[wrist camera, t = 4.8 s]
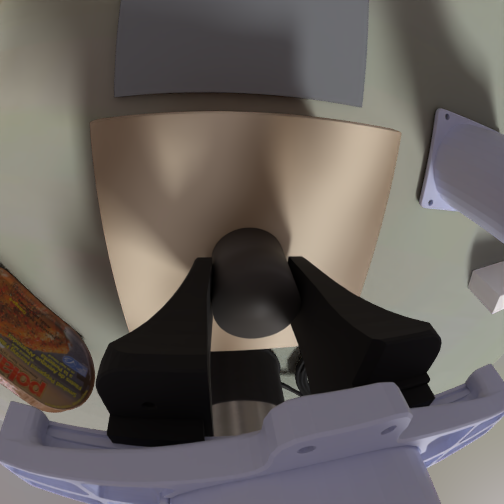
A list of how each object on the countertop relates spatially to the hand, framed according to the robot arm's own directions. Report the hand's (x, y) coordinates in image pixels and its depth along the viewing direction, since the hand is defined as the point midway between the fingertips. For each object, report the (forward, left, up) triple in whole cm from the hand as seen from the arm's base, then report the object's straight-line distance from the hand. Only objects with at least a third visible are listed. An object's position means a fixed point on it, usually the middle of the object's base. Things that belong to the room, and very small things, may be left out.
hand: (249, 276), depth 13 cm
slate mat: (0, -15, -8) cm, 17 cm away
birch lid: (0, 0, -2) cm, 2 cm away
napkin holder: (-32, +7, -8) cm, 34 cm away
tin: (+18, +9, -8) cm, 22 cm away
